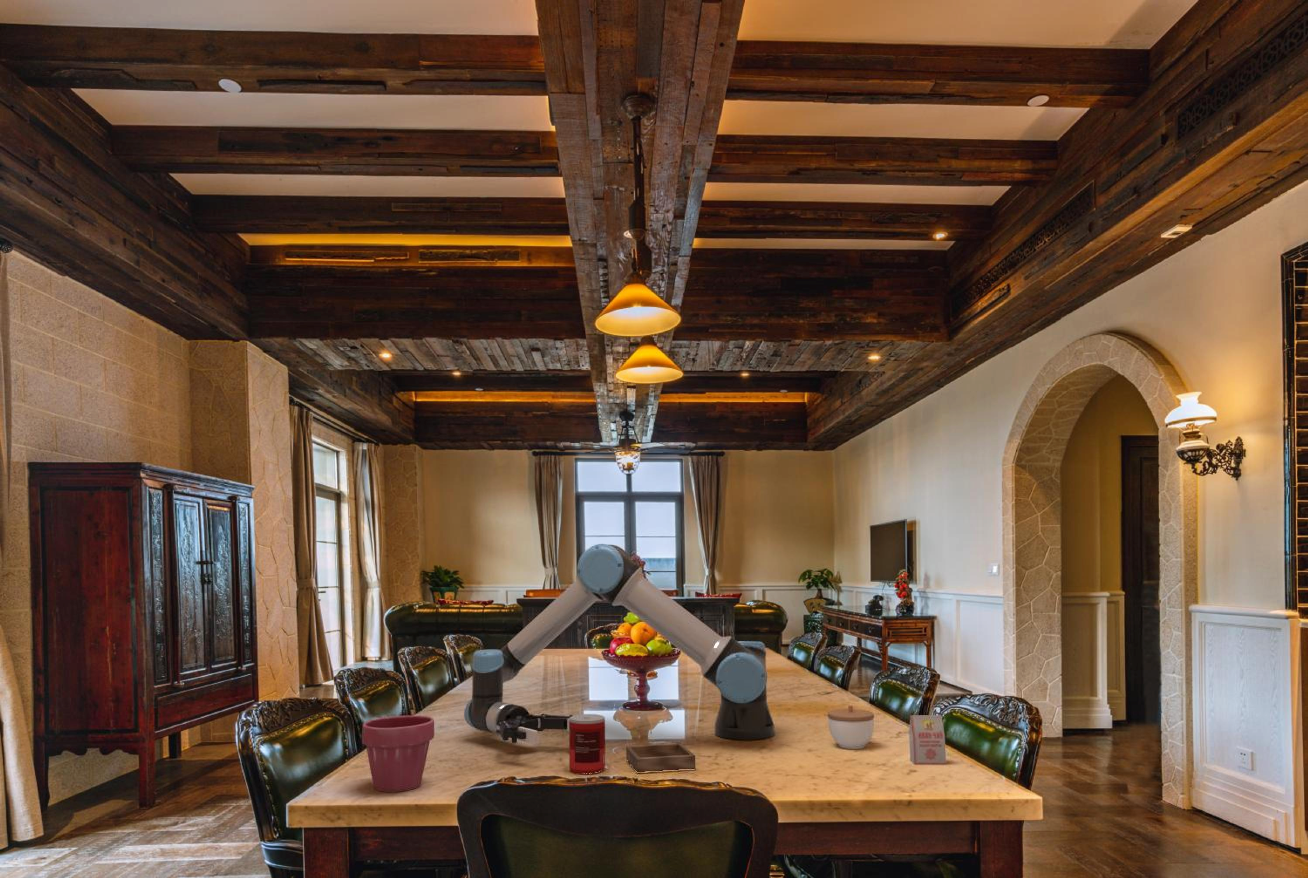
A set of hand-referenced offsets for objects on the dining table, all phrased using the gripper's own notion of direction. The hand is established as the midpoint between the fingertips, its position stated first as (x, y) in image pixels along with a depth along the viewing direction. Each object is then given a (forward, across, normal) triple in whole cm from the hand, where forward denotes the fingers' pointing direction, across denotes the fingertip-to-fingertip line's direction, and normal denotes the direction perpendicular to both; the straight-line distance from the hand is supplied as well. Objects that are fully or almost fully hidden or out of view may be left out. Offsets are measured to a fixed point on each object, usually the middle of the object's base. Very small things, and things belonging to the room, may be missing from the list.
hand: (561, 732), depth 196 cm
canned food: (+9, 0, -7) cm, 11 cm away
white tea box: (+57, -57, -7) cm, 81 cm away
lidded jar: (+36, -59, -7) cm, 69 cm away
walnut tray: (+17, -14, -6) cm, 23 cm away
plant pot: (-8, +35, -7) cm, 37 cm away
